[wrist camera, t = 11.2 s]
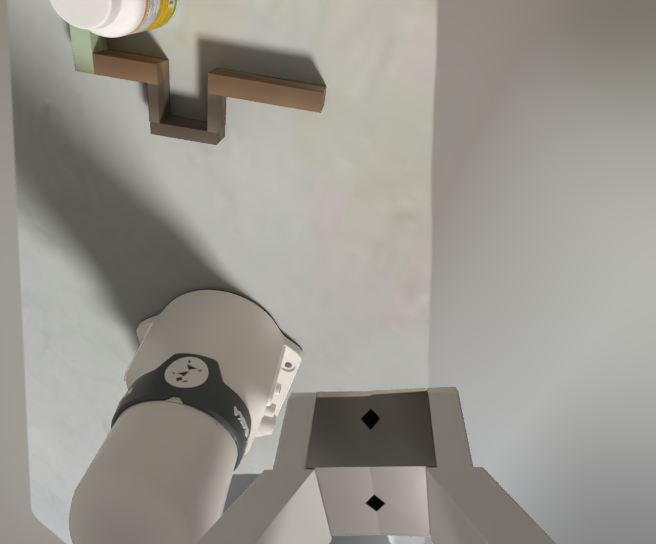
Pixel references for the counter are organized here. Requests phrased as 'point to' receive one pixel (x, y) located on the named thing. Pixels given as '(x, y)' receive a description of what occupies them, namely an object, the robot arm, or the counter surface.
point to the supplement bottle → (116, 15)
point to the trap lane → (221, 84)
